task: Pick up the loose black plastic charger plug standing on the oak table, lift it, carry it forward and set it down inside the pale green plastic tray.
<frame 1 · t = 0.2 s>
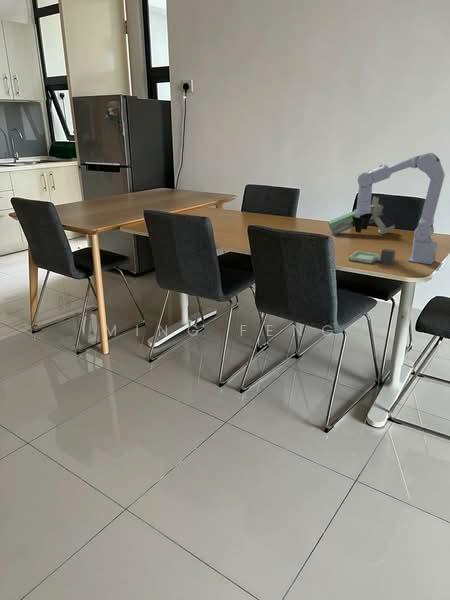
hand: (361, 230, 204), 10 cm above the table, tool pointing down, fingers open, 7 cm apart
plug: (387, 263, 192), on the table
long mint green beam: (360, 234, 242), on the table
tray: (364, 259, 197), on the table
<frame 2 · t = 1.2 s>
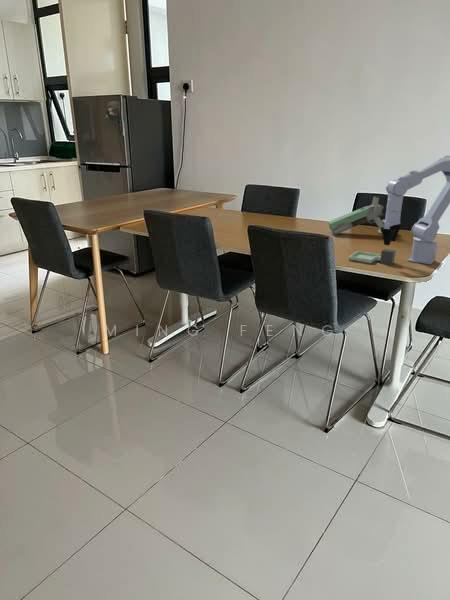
hand: (389, 242, 189), 9 cm above the table, tool pointing down, fingers open, 7 cm apart
nothing on the table moved.
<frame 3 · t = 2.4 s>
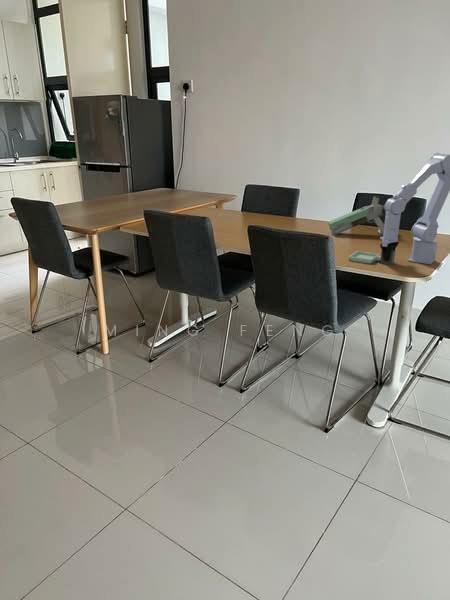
hand: (387, 259, 191), 1 cm above the table, tool pointing down, fingers closed on plug, 3 cm apart
plug: (387, 262, 192), on the table, touching gripper
everything else where it was.
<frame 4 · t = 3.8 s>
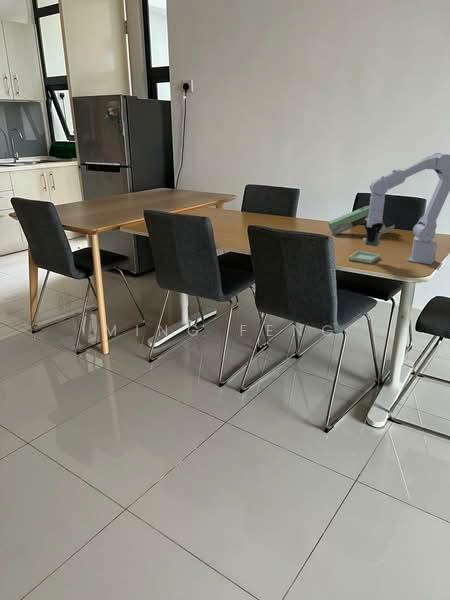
hand: (372, 241, 192), 9 cm above the table, tool pointing down, fingers closed on plug, 3 cm apart
plug: (372, 244, 193), point 7 cm above the table, touching gripper
everything else where it was.
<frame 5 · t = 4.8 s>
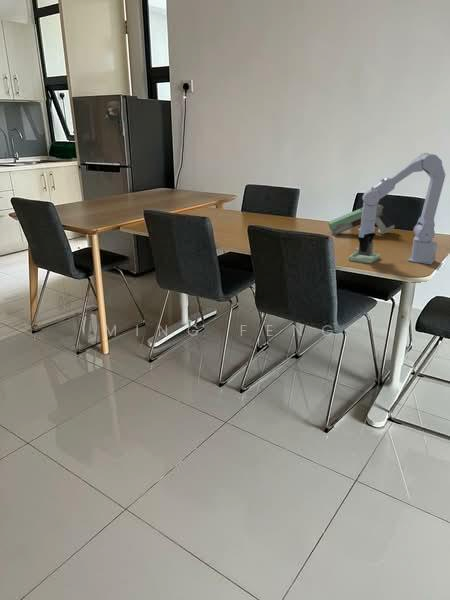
hand: (364, 250, 196), 4 cm above the table, tool pointing down, fingers closed on plug, 3 cm apart
plug: (365, 254, 196), point 2 cm above the table, touching gripper
everything else where it was.
when the fingers open (3 cm above the table, at t = 5.4 s): plug stays where it is, resting on tray.
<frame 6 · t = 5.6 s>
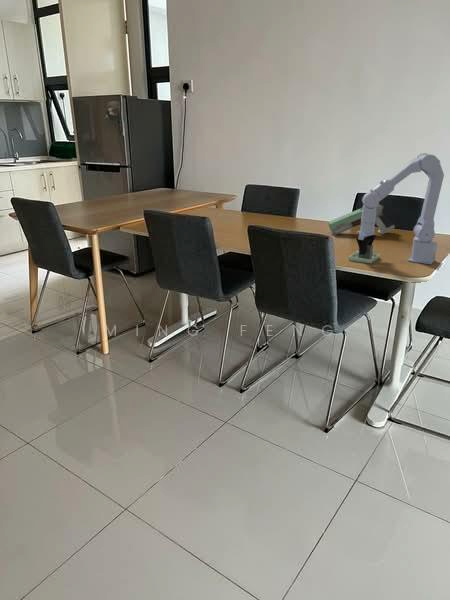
hand: (364, 252, 196), 3 cm above the table, tool pointing down, fingers open, 5 cm apart
plug: (364, 257, 197), point 1 cm above the table, touching tray
everything else where it was.
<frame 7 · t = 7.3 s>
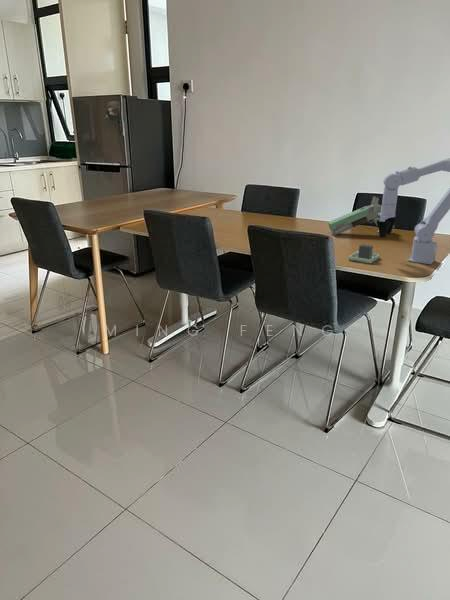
hand: (385, 235, 194), 10 cm above the table, tool pointing down, fingers open, 7 cm apart
nothing on the table moved.
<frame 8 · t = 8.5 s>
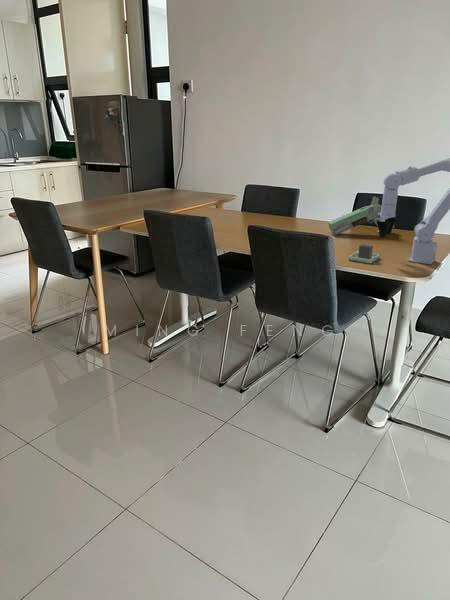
hand: (385, 235, 194), 10 cm above the table, tool pointing down, fingers open, 7 cm apart
nothing on the table moved.
at the end: plug inside the target area on the tray (0.3 cm from its centre), point 0.6 cm above the tray's base; plug point 0.6 cm above the table; the gripper is holding nothing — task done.
